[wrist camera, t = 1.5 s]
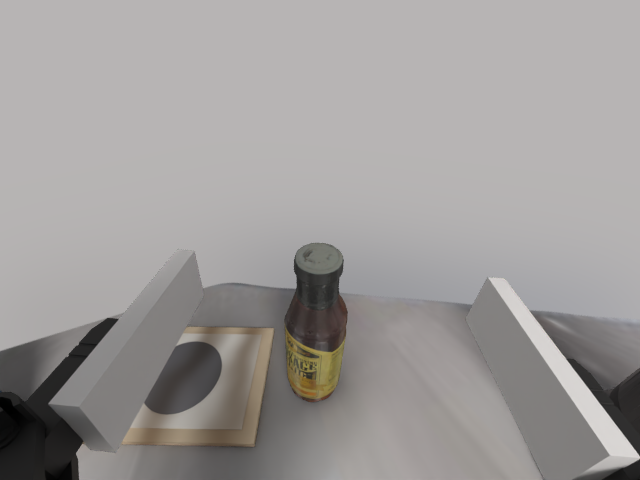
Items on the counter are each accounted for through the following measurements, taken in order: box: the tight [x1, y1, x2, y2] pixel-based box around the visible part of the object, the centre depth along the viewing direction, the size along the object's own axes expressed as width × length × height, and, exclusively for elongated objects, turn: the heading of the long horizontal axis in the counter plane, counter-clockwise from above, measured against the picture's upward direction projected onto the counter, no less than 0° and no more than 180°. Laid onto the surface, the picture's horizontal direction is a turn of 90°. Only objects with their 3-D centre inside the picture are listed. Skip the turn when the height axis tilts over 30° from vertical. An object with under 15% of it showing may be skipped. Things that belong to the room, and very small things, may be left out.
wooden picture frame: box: [82, 327, 274, 447], centre depth 34 cm, size 20×14×1 cm
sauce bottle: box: [284, 243, 348, 402], centre depth 29 cm, size 7×6×20 cm
